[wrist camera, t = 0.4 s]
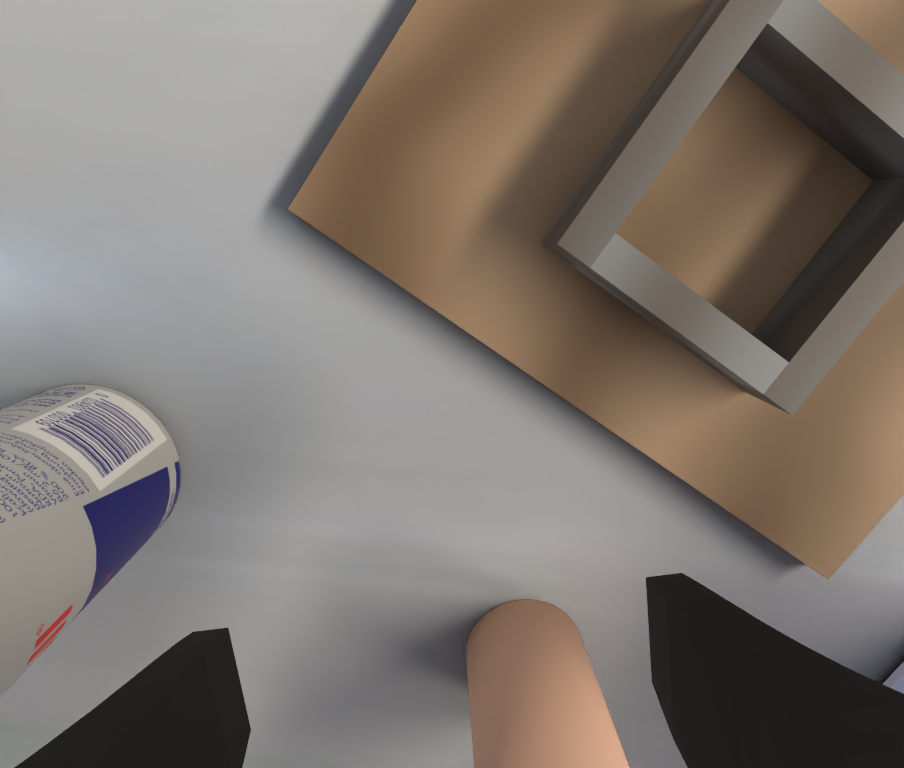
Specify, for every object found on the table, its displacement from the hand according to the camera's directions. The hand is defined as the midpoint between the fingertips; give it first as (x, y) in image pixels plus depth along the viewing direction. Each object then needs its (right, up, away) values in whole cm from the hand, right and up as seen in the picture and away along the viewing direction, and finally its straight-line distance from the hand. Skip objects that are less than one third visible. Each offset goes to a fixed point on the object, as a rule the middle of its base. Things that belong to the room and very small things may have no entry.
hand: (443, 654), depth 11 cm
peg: (+3, -5, +11) cm, 12 cm away
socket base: (+8, +10, +8) cm, 15 cm away
